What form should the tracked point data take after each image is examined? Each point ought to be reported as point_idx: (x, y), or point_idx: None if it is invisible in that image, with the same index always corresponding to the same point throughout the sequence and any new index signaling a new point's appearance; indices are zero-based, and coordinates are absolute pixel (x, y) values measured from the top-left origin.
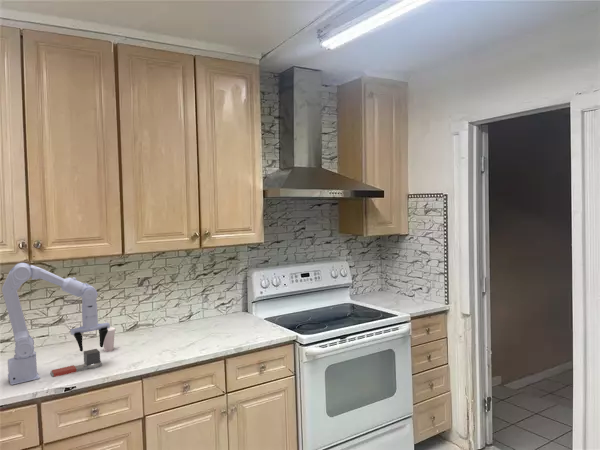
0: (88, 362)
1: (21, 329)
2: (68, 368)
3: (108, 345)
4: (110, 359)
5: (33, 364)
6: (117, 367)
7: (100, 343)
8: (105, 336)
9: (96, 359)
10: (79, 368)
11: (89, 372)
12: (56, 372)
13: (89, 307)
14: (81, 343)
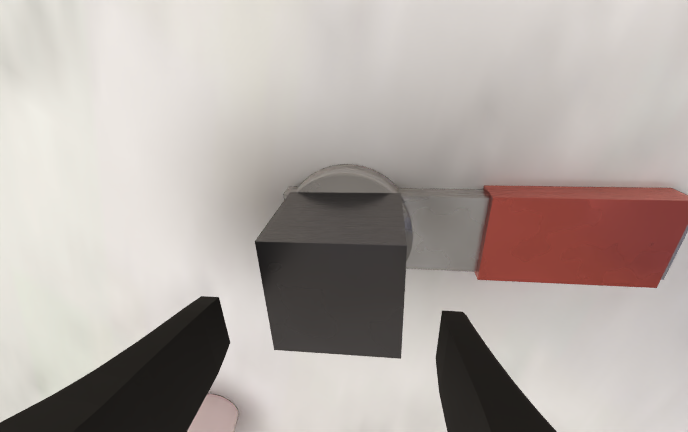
0: (388, 203)
1: None
2: (542, 237)
3: (199, 430)
4: (218, 273)
5: None
6: (176, 52)
7: (202, 353)
8: (30, 409)
9: (313, 206)
10: (461, 197)
11: (407, 91)
12: (669, 205)
13: None
14: (495, 407)
